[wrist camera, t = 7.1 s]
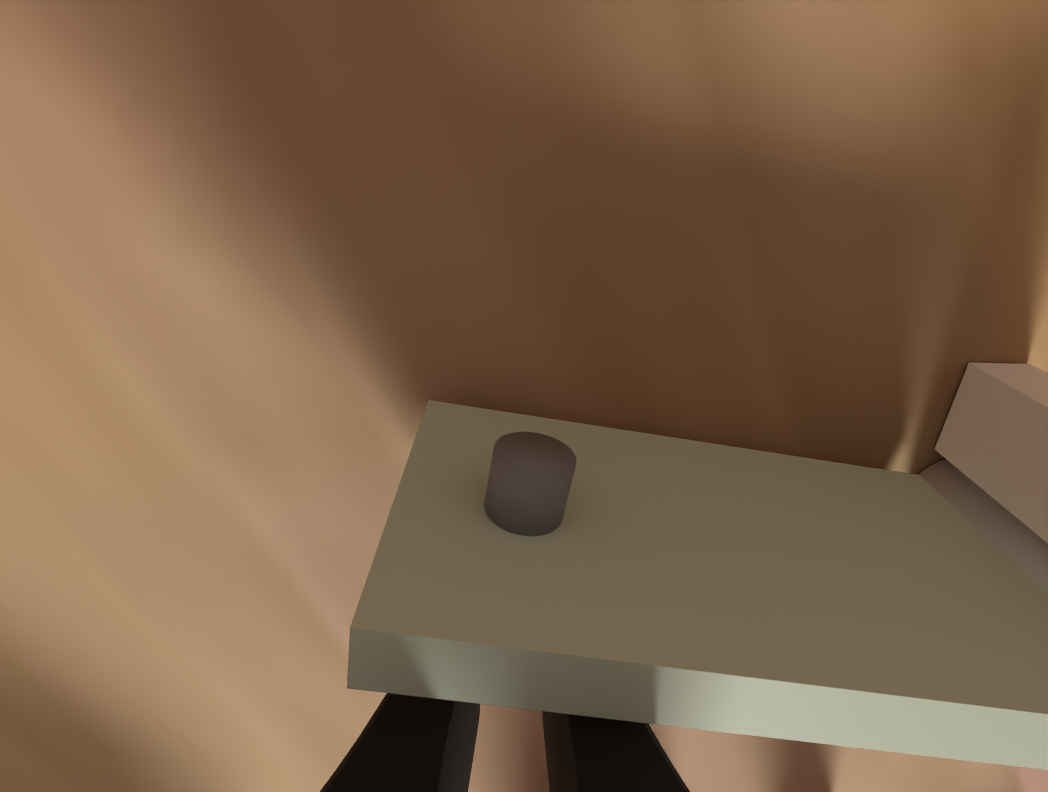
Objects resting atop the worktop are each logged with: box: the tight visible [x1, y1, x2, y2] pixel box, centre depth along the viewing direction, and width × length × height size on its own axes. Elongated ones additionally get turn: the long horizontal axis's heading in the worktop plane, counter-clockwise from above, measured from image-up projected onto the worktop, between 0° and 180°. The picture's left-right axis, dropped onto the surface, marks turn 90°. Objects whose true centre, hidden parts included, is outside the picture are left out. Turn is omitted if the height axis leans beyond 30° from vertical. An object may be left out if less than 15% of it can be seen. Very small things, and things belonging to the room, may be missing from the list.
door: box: [347, 400, 1048, 770], centre depth 9 cm, size 2×10×6 cm, turn 80°
